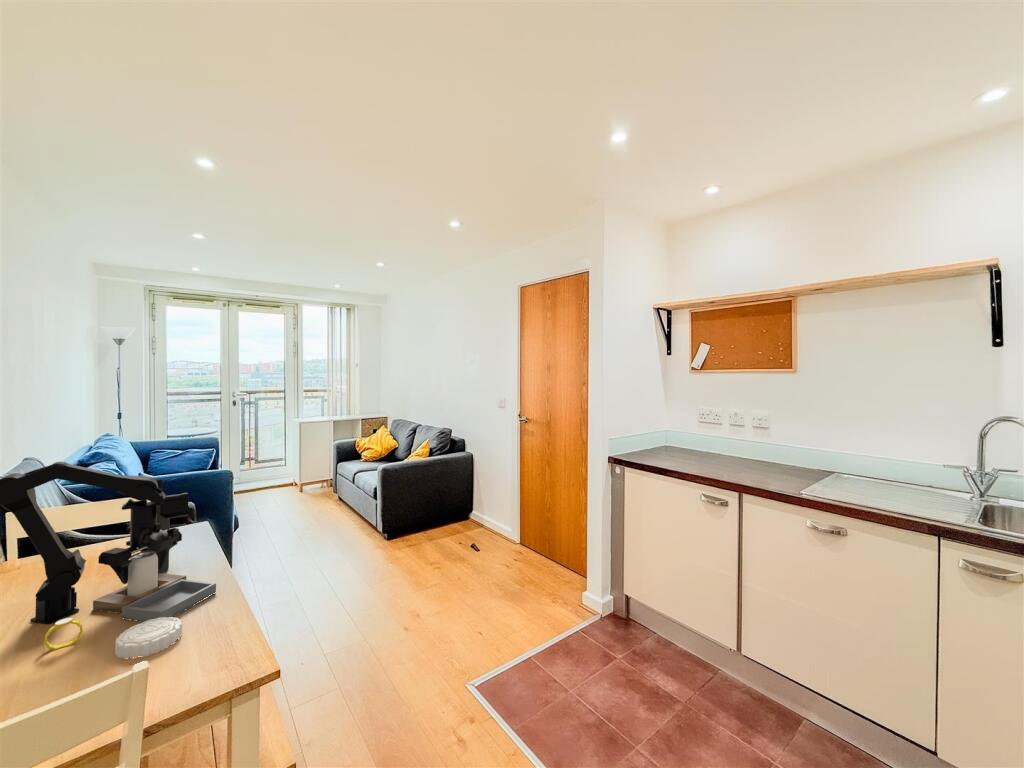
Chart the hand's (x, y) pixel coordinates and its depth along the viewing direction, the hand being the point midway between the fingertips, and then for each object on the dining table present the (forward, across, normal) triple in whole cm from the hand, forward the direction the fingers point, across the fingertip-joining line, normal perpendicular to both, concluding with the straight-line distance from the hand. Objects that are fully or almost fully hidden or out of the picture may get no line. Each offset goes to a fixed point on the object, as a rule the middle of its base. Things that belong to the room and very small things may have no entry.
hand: (142, 576), depth 119 cm
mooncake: (+6, -17, -24) cm, 30 cm away
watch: (+6, -22, -6) cm, 23 cm away
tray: (+6, -2, -13) cm, 14 cm away
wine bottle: (+6, +13, +12) cm, 19 cm away
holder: (+6, 0, 0) cm, 6 cm away
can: (+6, 0, 0) cm, 6 cm away
